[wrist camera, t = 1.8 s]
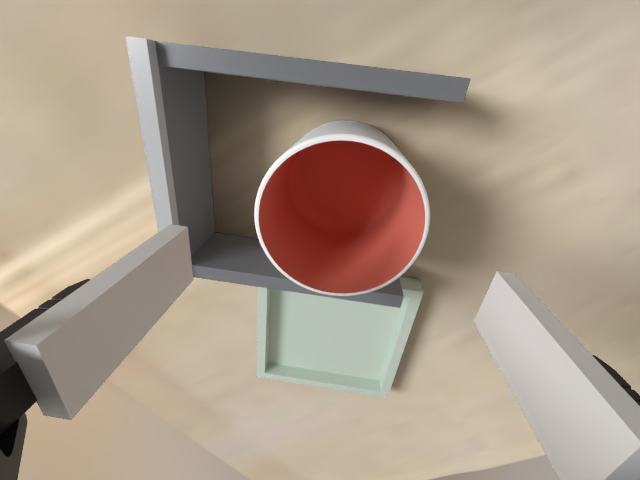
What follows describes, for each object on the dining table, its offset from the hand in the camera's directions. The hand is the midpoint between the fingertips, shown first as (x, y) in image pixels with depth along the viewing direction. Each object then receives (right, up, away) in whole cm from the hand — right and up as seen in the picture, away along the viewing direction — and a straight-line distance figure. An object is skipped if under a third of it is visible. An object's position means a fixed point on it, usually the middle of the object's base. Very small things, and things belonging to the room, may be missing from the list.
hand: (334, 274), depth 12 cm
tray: (+1, -8, +20) cm, 22 cm away
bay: (-2, +7, +13) cm, 15 cm away
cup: (+1, +7, +13) cm, 15 cm away
